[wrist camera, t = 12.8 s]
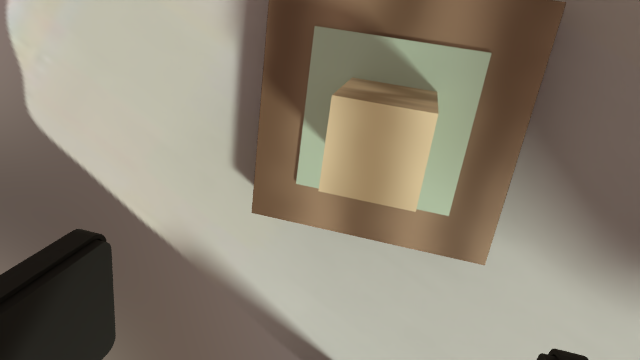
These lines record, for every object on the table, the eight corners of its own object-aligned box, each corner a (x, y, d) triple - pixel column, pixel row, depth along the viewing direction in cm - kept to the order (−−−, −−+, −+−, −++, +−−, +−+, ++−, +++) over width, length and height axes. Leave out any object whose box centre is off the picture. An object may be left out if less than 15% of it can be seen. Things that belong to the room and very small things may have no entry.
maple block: (437, 91, 26) (438, 113, 21) (418, 172, 28) (415, 212, 23) (352, 77, 27) (331, 95, 22) (339, 156, 29) (318, 191, 24)
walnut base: (552, 2, 26) (567, 2, 23) (480, 243, 32) (485, 267, 29) (287, -33, 29) (270, -38, 26) (265, 196, 35) (250, 214, 32)
